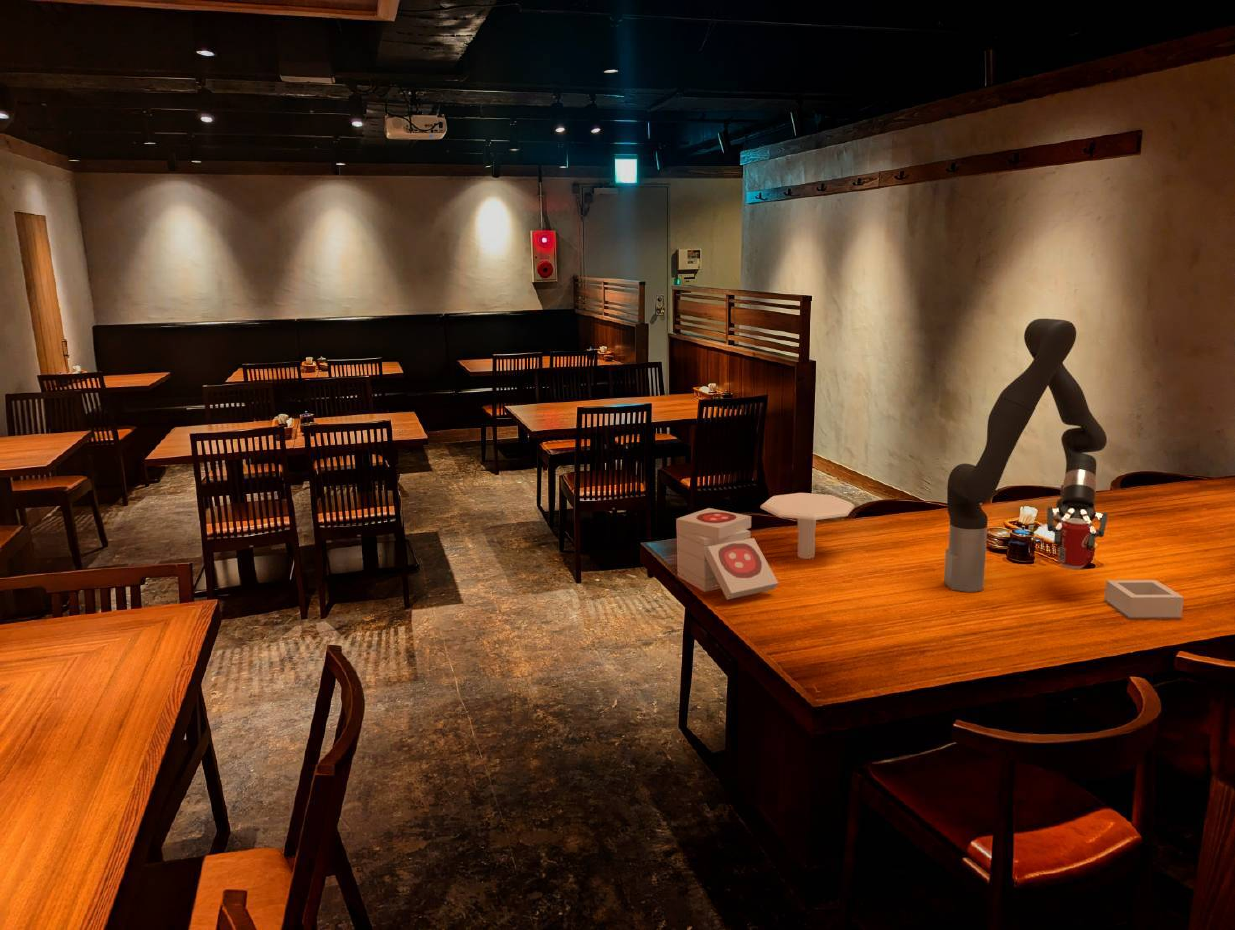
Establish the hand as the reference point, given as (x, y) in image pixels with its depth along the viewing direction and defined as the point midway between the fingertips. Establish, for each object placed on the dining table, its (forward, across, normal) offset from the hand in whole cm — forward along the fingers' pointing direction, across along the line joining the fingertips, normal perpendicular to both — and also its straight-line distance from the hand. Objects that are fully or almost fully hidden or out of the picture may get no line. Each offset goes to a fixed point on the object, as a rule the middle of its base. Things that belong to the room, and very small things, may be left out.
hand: (1073, 546), depth 212 cm
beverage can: (+3, 0, +5) cm, 6 cm away
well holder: (+9, +16, +11) cm, 22 cm away
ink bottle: (-47, -1, +67) cm, 82 cm away
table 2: (+4, -70, +18) cm, 73 cm away
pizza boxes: (+28, -84, -5) cm, 89 cm away
